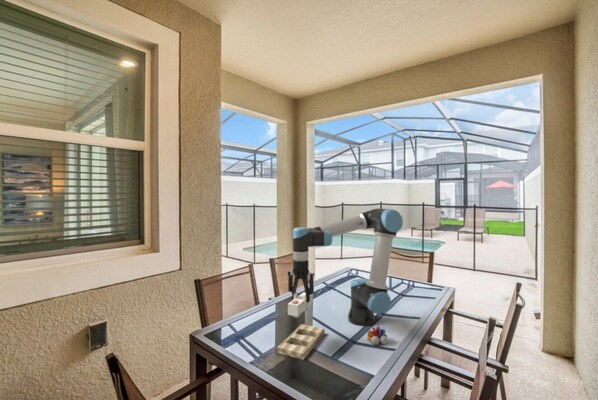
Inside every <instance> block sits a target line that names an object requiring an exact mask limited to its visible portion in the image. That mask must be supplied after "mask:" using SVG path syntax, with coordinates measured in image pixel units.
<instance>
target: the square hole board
mask: <svg viewBox="0 0 598 400" xmlns="http://www.w3.org/2000/svg"><path fill="white" fill-rule="evenodd" d="M325 332H326V331H325V328H323V327H317V326H312V325H308V324H303V323H302V324H300V325H299V326H298V327H297V328H296V329H295V330H293V332H292V333H290V335H288V336H287V338H285V339H284V340H283V341H282V342H281V343H280V344H279V345H278V346H276V353H277V354H281V355H284V356H287V357H291V358H296V359H299V360H305V359H306V357H307V356H308V355H309V353H310V352H311V351H312V350H313V349H314V348H315V346H317V344H318V342H319V341H320V340H321V339H322V338H323V337H324V335H325Z"/></svg>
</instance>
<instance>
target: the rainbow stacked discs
mask: <svg viewBox="0 0 598 400" xmlns="http://www.w3.org/2000/svg"><path fill="white" fill-rule="evenodd" d="M367 341H369V342H370V343H371V344H372V345H374V346H377V345H379V343H380V344H382V345H386V344H388V341H389V340H388V335H387V334H386V329H384V328H382V327H380V326H379V325H378V326H376V328H375V327H374V326H372V330H368V331H367Z"/></svg>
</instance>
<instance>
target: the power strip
mask: <svg viewBox="0 0 598 400" xmlns="http://www.w3.org/2000/svg"><path fill="white" fill-rule="evenodd" d="M313 294H314V293H313ZM313 294H312V295H310V301H309V302H308V308H307V309H306V310H305V300H304V296H305V295H306V293H305V291H303V292H302V293H300V294H299V295H297V297H296V298H295V299H294V300H292V299H291V301H289V302H288V303H287V316H291V317H293V318H294V319H299V318H300V315H301V314H303V312H305V311H308V310H309V307H310V306H311V305H313V304H314V303H313V300H314V297H313V296H314V295H313Z"/></svg>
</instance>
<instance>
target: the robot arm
mask: <svg viewBox="0 0 598 400" xmlns="http://www.w3.org/2000/svg"><path fill="white" fill-rule="evenodd" d="M400 213H401V212H398V210H396V209H391V208H374V209H370V210H367V211H364V212H361V213H358V214H357V216H351V217H349V218H345V219H342V220H337V221H334V222H330V223H327V224H323V225H320V226H316V227H304V226H303V227H295V228H294V229H293V230H292V259H293V260H292V267H293V268H292V270H288V271H287V275H288V279H287V280H288V286H287V287H288V290H287V291H288V292H290V293H291V301H292V300H294V299H295V298H296V297H298V292H297V288H298V285H299V280H301V282H302V284H303V289H304V292H305V293H306V295H305V296H304V300H305V311H307V310H306V309H307V308H308V309H309V307H308V302H309V301H310V295H312V294H314V292H315V291H314V290H315V289H314V286H315V285H314V277H315V273H314V272H313V273H312V272H310V270H309V263H310V261H309V251H310V250H309V248H312V247H313V248H315V247H329V246H331V245H332V243H333V238H334V237H336V236H341V235H344V234H348V233H351V232H355V231H357V230H364V231H365V230H370V229H371V230H373V233H374V235H375V239H374V240H375V241H374V246H373V254H372V260H371V265H370V272H369V277H368V279H366V278H358V279H357V278H356V279H352V281H350V308H349V311H348V315H347V320H348V322H349V323H351V324H353V325H355V326H360V327H362V326H363V327H365V326H372V325H374V324H375V323H376V315H375V314H377V315H378V314H379V315H380V314H381V315H382V314H383V313H385V312H386V311H388V310H389V308H390V307H391V301H392V299H391V297H390V295H389V287H388V285H387V277H388V272H389V266H390V265H389V264H390V258H391V253H392V246H393V239H394V238H396V237H397V233H398V232H399V231H400V230H401V229H402V228H403V224H404V220H403V217H402V215H401V214H400Z"/></svg>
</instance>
